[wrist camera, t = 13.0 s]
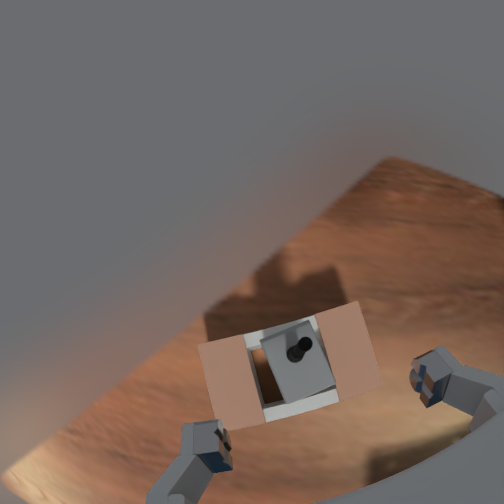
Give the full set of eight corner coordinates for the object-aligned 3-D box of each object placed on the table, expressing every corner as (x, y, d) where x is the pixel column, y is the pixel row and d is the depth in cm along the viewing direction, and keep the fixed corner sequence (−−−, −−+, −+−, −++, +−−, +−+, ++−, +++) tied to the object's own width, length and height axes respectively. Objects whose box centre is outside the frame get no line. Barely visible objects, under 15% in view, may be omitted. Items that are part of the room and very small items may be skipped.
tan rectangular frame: (346, 310, 36) (357, 300, 31) (368, 383, 32) (383, 385, 27) (209, 348, 36) (197, 344, 31) (228, 423, 32) (219, 432, 27)
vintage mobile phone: (283, 389, 33) (291, 428, 10) (267, 353, 35) (245, 318, 12) (311, 377, 33) (375, 389, 10) (296, 341, 35) (327, 284, 12)
